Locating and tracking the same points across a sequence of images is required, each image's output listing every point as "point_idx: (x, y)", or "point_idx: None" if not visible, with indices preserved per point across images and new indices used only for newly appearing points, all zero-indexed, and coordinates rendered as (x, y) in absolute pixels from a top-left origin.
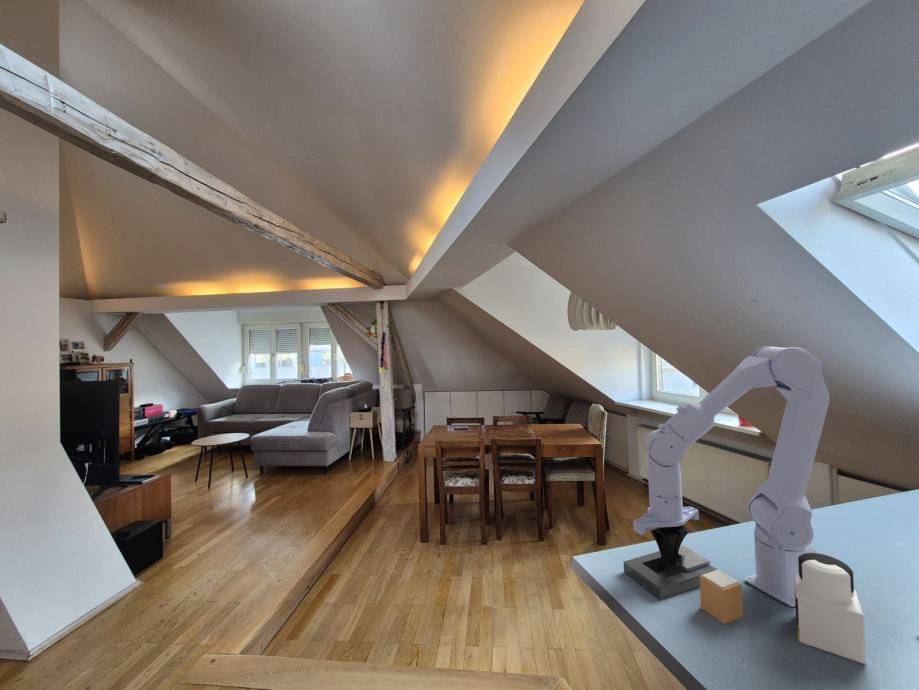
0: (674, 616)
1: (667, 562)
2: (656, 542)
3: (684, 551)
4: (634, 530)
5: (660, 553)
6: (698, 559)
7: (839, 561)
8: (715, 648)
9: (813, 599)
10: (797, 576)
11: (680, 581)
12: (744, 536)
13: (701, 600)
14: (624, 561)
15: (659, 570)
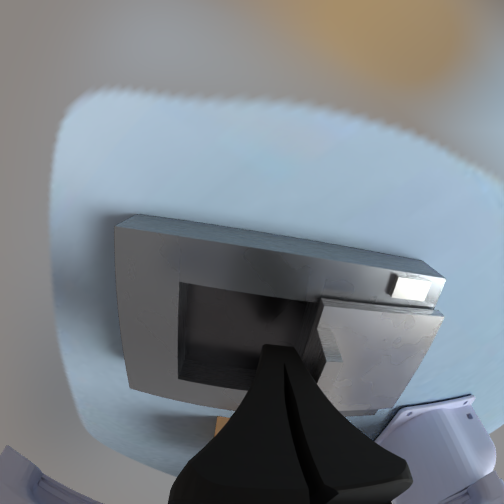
0: (134, 396)
1: (257, 369)
2: (244, 397)
3: (403, 348)
4: (8, 451)
5: (262, 358)
6: (377, 394)
7: None
8: (146, 443)
9: None
10: None
11: (216, 407)
12: None
13: (215, 431)
14: (119, 227)
15: (257, 302)
